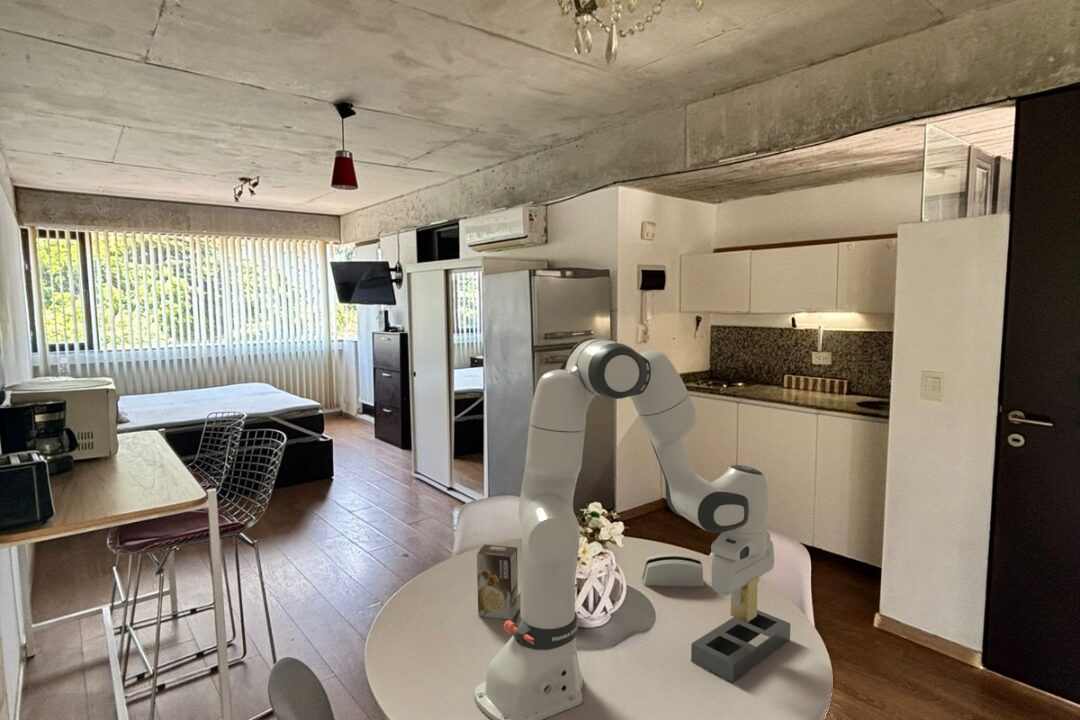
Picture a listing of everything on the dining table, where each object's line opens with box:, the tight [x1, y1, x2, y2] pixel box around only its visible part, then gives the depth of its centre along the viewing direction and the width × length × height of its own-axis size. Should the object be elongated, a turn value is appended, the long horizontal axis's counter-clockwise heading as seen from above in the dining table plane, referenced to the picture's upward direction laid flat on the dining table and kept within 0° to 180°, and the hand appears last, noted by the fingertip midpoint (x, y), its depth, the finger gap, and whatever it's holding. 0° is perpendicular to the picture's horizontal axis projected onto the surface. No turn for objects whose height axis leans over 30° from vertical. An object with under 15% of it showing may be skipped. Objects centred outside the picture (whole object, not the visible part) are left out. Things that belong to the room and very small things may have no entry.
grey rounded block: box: [641, 553, 704, 587], centre depth 162 cm, size 17×5×10 cm, turn 87°
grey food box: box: [476, 544, 519, 621], centre depth 147 cm, size 9×6×16 cm
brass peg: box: [730, 577, 759, 622], centre depth 130 cm, size 4×4×9 cm
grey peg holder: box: [690, 609, 791, 684], centre depth 130 cm, size 24×10×4 cm, turn 131°
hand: (743, 600), depth 130 cm, fingers closed on brass peg, 4 cm apart
